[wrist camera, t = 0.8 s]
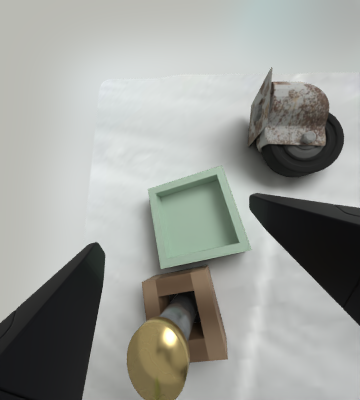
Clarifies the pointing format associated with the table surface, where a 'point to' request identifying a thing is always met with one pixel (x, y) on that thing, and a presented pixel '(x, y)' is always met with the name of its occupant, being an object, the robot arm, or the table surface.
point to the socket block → (207, 306)
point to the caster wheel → (294, 128)
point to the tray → (196, 219)
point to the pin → (163, 350)
